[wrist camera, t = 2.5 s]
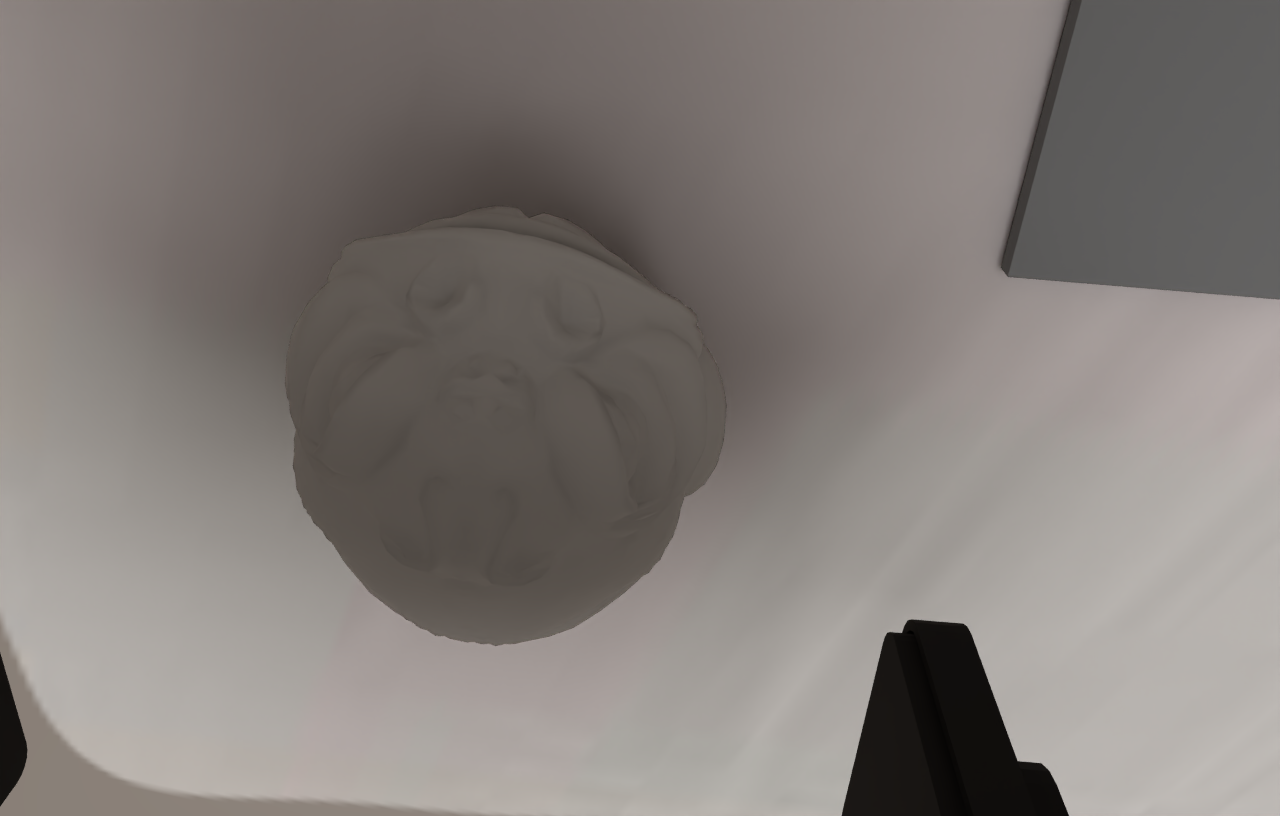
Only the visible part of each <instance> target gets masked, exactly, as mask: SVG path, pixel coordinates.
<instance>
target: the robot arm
mask: <svg viewBox="0 0 1280 816" xmlns="http://www.w3.org/2000/svg"><path fill="white" fill-rule="evenodd" d="M26 759H27V744H26V740H25V737H24V733H23V729H22V726H21V723H20V719H19V716H18V712H17V709H16V705H15V702H14V699H13V695H12V692H11V688H10V685H9V681H8V678H7V675H6V672H5V668H4V664H3V661H2V657H1V654H0V806H1V805H2V803H3V802H4V800H5V799H6V798H7V796H8V795H9V793H10V792H11V791H12V789H13V788H14V786H15V785H16V784H17V782H18V780H19V778H20V777H21V775H22V772H23V770H24V767H25V763H26ZM842 816H1069V815H1068V812H1067V810H1066V807H1065V805H1064V802H1063V800H1062V797H1061V795H1060V792H1059V789H1058V787H1057V785H1056V783H1055V781H1054V779H1053V777H1052V775H1051V773H1050V771H1049V770H1048V769H1047V768H1046V767H1045V766H1043V765H1042V764H1041V763H1032V762H1020V761H1017V758H1016V756H1015V753H1014V750H1013V747H1012V745H1011V742H1010V739H1009V737H1008V734H1007V731H1006V728H1005V726H1004V723H1003V720H1002V717H1001V715H1000V712H999V709H998V706H997V704H996V701H995V698H994V695H993V693H992V690H991V687H990V684H989V682H988V679H987V676H986V673H985V671H984V668H983V665H982V662H981V660H980V657H979V654H978V651H977V649H976V646H975V643H974V640H973V638H972V635H971V633H970V631H969V629H968V627H967V626H966V625H964V624H960V623H948V622H936V621H924V620H908V621H907V623H906V624H905V626H904V629H903V632H902V633H894V632H889V633H887V635H886V636H885V639H884V642H883V646H882V650H881V654H880V658H879V662H878V666H877V671H876V675H875V679H874V683H873V687H872V691H871V695H870V700H869V704H868V708H867V712H866V716H865V720H864V724H863V729H862V733H861V737H860V741H859V745H858V749H857V753H856V758H855V762H854V766H853V770H852V774H851V778H850V782H849V787H848V791H847V795H846V799H845V803H844V807H843V812H842Z"/></svg>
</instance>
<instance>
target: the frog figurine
mask: <svg viewBox="0 0 1280 816" xmlns="http://www.w3.org/2000/svg"><path fill="white" fill-rule="evenodd" d="M697 321H698V319H697V316H696V314H695V313H694V312H693V311H692V310H691V308H689V307H687V306H685V305H684V304H683V303H682V302H681V301H679V300H677V299H675V298H674V297H672V296H670V295H668V294H666V293H664V292H662V291H660V290H658V289H656V288H655V287H654V286H653V285H652V284H651V283H650V282H649V281H648V280H647V279H646V278H645V277H643V276H642V275H641V274H640V273H638V272H637V271H636V270H635V269H633V268H632V267H631V266H630V265H628V264H627V263H626V262H625V261H623V260H622V259H621V258H620V257H618V256H617V255H615V254H614V253H612V252H610V251H608V250H607V249H606V248H605V247H604V246H603V245H602V244H600V243H599V242H598V241H597V240H596V239H595V238H594V237H592V236H591V235H590V234H589V233H588V232H587V231H585V230H583V229H582V228H580V227H579V226H577V225H575V224H574V223H572V222H570V221H569V220H566V219H563V218H560V217H557V216H553V215H550V214H546V213H543V214H539V215H536V216H533V217H530V218H528V217H527V216H526V215H525V214H524V213H523V212H521V211H520V210H519V209H518V208H516V207H504V206H491V207H485V208H479V209H474V210H471V211H469V212H466V213H463V214H461V215H458V216H456V217H451V218H443V219H436V220H431V221H429V222H427V223H425V224H422V225H420V226H418V227H415V228H413V229H411V230H408V231H406V232H403V233H395V234H389V235H383V236H377V237H370V238H364V239H358V240H355V241H353V242H351V243H350V244H348V245H346V246H345V248H344V249H343V250H342V252H341V259H340V260H339V261H337V262H336V263H334V265H333V267H332V269H331V271H330V274H329V276H328V283H327V284H326V285H325V286H324V287H323V288H321V289H320V291H319V292H318V293H317V294H316V295H315V296H314V297H313V298H312V300H311V301H310V302H309V303H308V304H307V306H306V307H305V309H304V311H303V313H302V314H301V316H300V318H299V320H298V321H297V323H296V325H295V327H294V330H293V332H292V335H291V338H290V344H289V349H288V354H287V359H286V375H285V387H286V393H287V398H288V400H289V406H290V414H291V417H292V419H293V422H294V425H295V428H296V433H295V437H294V461H293V469H294V472H295V478H296V487H297V491H298V493H299V495H300V497H301V499H302V503H303V506H304V508H305V509H306V510H307V513H308V514H309V515H310V516H311V518H312V520H313V522H314V523H315V524H316V525H317V526H318V527H319V528H320V529H321V530H322V531H323V533H324V534H325V536H326V538H327V539H328V540H329V541H331V542H332V544H333V545H334V546H335V548H336V550H337V551H338V553H339V554H340V556H341V558H342V559H343V561H344V562H345V564H346V565H347V566H348V567H349V569H350V570H351V571H352V572H353V573H354V574H355V576H356V577H357V578H358V579H359V580H360V581H361V583H362V584H363V585H364V586H365V587H366V588H367V590H368V591H369V592H370V593H371V594H373V595H374V596H375V597H377V598H378V599H379V600H380V601H382V602H383V603H384V604H386V605H387V606H388V607H389V608H391V609H392V610H393V611H395V612H396V613H398V614H400V615H401V616H403V617H404V618H405V619H406V620H409V621H411V622H413V623H414V624H415V625H416V626H418V627H419V628H422V629H425V630H427V631H429V632H430V633H432V634H434V635H435V636H446V637H448V638H450V639H454V640H459V641H463V642H476V643H480V644H492V645H495V646H498V645H502V644H516V643H520V642H525V641H530V640H534V639H539V638H544V637H549V636H552V635H555V634H557V633H560V632H563V631H566V630H568V629H571V628H574V627H575V626H577V625H579V624H580V623H582V622H583V621H585V620H587V619H588V618H590V617H591V616H593V615H595V614H596V613H598V612H599V611H601V610H602V609H603V608H605V607H606V606H607V605H609V604H610V603H611V602H613V601H614V600H615V599H617V598H618V597H619V596H621V595H622V594H623V593H625V592H626V591H627V590H628V589H629V588H630V587H631V586H632V585H633V584H635V583H636V582H637V581H638V580H639V579H640V578H641V577H642V576H643V575H645V574H647V573H649V572H650V570H651V569H652V567H653V566H654V565H655V564H656V563H657V562H658V561H659V560H660V559H661V557H662V555H663V553H664V551H665V549H666V547H667V545H668V544H669V542H670V540H671V539H672V537H673V535H674V532H675V529H676V526H677V523H678V519H679V514H680V509H681V506H682V503H683V500H684V497H685V496H688V495H690V494H692V493H694V492H695V491H696V490H698V489H699V488H700V487H701V486H703V485H704V484H705V482H706V481H707V479H708V478H709V476H710V475H711V473H712V472H713V470H714V469H715V467H716V464H717V462H718V459H719V455H720V451H721V448H722V444H723V440H724V431H725V419H726V399H725V393H724V388H723V383H722V380H721V377H720V374H719V371H718V367H717V364H716V362H715V360H714V359H713V357H712V355H711V353H710V351H709V350H708V349H707V348H706V347H705V345H704V344H703V334H702V332H701V331H700V329H699V328H698V326H697V325H696V324H697Z"/></svg>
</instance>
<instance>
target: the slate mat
mask: <svg viewBox="0 0 1280 816" xmlns="http://www.w3.org/2000/svg"><path fill="white" fill-rule="evenodd" d="M1001 268H1002V269H1003V271H1004V272H1005V274H1006V275H1007V276H1008V277H1015V278H1027V279H1039V280H1051V281H1063V282H1075V283H1087V284H1100V285H1112V286H1124V287H1136V288H1148V289H1160V290H1172V291H1184V292H1196V293H1208V294H1220V295H1232V296H1244V297H1256V298H1268V299H1280V0H1072V1H1071V4H1070V8H1069V12H1068V16H1067V20H1066V23H1065V27H1064V31H1063V35H1062V39H1061V42H1060V46H1059V50H1058V54H1057V58H1056V61H1055V65H1054V69H1053V73H1052V77H1051V80H1050V84H1049V88H1048V92H1047V95H1046V99H1045V103H1044V107H1043V111H1042V114H1041V118H1040V122H1039V126H1038V130H1037V133H1036V137H1035V141H1034V145H1033V149H1032V152H1031V156H1030V160H1029V164H1028V168H1027V171H1026V175H1025V179H1024V183H1023V187H1022V190H1021V194H1020V198H1019V202H1018V205H1017V209H1016V213H1015V217H1014V221H1013V224H1012V228H1011V232H1010V236H1009V240H1008V243H1007V247H1006V251H1005V255H1004V259H1003V262H1002V266H1001Z"/></svg>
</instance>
